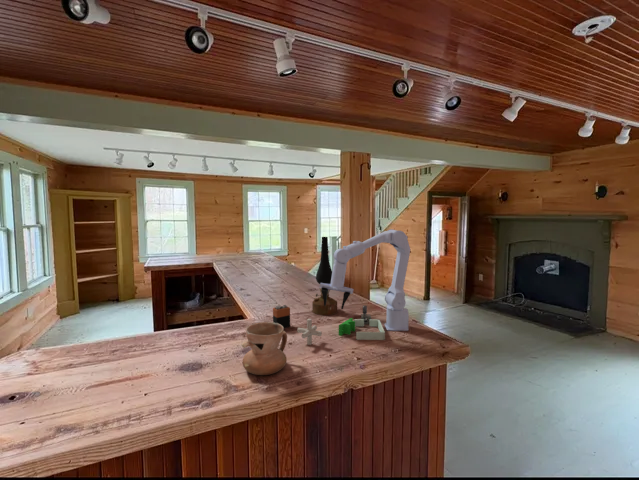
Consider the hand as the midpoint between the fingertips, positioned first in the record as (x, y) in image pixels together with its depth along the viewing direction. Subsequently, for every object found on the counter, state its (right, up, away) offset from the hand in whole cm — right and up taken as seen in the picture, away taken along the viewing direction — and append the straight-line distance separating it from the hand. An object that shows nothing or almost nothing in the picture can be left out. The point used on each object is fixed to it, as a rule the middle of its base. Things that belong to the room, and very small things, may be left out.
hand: (333, 306), depth 139 cm
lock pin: (+16, -8, +14) cm, 22 cm away
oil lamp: (-3, -9, +29) cm, 31 cm away
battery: (-23, -11, +6) cm, 26 cm away
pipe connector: (-10, -12, -12) cm, 20 cm away
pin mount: (+16, -10, +11) cm, 21 cm away
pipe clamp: (+6, -11, 0) cm, 13 cm away
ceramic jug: (-24, -14, -32) cm, 42 cm away
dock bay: (+15, -11, 0) cm, 19 cm away
